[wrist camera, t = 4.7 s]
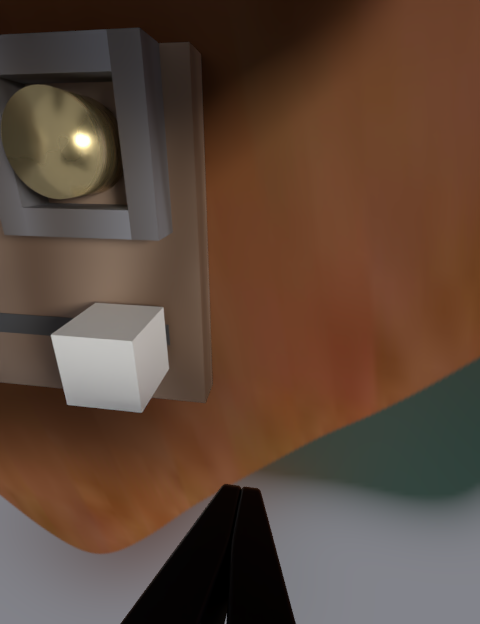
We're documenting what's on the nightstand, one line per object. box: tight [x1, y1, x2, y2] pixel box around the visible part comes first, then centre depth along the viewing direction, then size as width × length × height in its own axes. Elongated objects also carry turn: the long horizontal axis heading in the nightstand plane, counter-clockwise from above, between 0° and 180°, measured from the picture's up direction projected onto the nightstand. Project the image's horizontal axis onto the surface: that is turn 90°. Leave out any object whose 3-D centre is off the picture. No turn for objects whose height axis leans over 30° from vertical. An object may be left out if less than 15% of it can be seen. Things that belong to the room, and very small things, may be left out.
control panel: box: [0, 28, 213, 403], centre depth 15 cm, size 13×14×3 cm
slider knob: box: [51, 303, 169, 413], centre depth 14 cm, size 3×3×3 cm
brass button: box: [1, 84, 123, 199], centre depth 12 cm, size 3×3×2 cm
